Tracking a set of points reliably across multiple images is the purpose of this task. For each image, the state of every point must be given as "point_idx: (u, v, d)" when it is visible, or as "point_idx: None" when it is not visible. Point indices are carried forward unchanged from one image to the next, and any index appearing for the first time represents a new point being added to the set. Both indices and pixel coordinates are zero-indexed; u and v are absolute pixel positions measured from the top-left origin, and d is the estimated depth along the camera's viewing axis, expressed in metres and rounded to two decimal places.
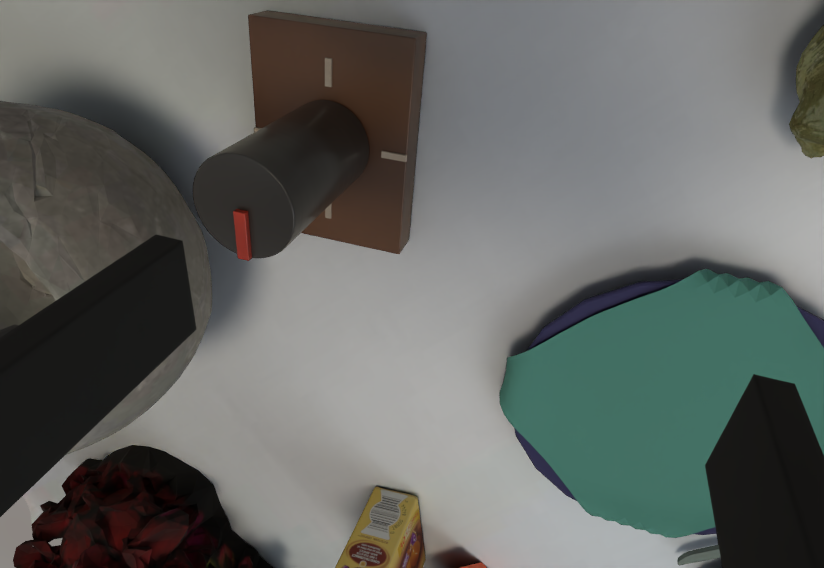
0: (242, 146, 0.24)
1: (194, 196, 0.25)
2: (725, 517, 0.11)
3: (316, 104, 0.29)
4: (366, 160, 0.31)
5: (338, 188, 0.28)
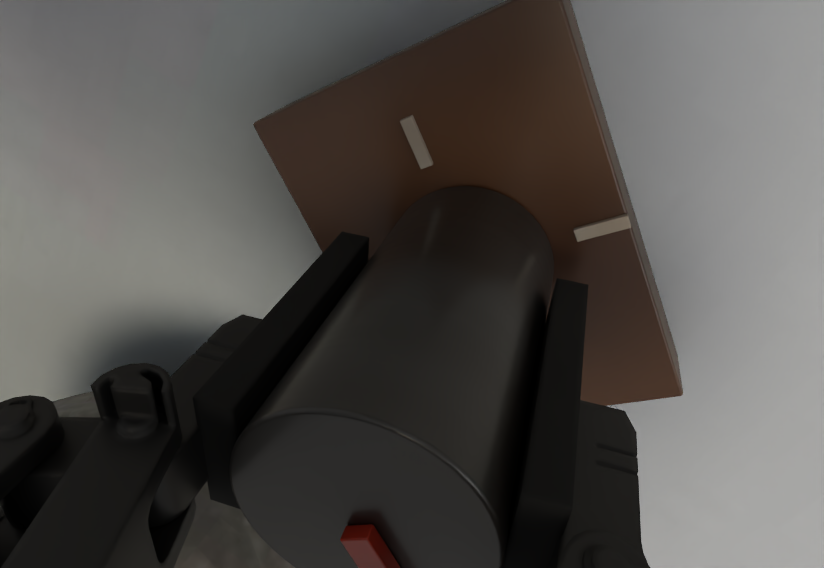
0: (297, 378, 0.09)
1: (251, 523, 0.10)
2: None
3: (420, 206, 0.15)
4: (552, 260, 0.16)
5: (537, 347, 0.13)
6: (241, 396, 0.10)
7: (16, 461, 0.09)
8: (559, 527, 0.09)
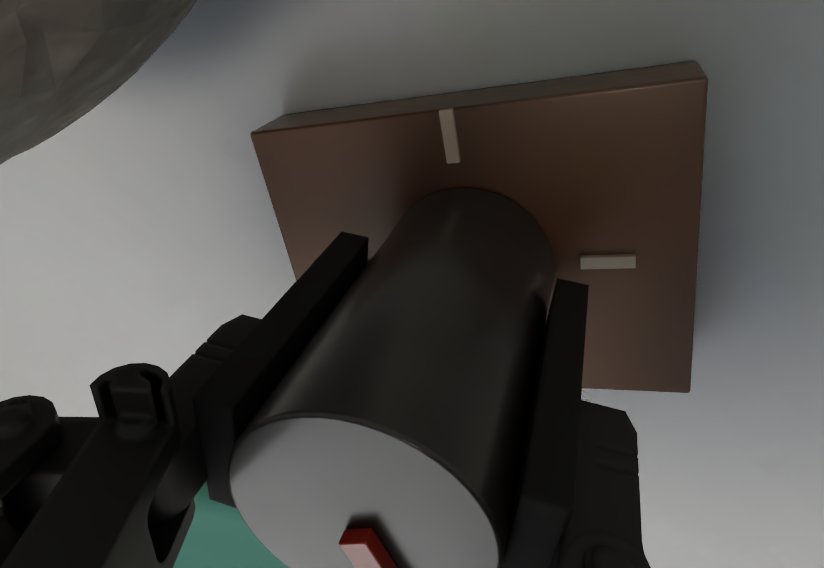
0: (295, 381, 0.09)
1: (250, 528, 0.10)
2: None
3: (419, 209, 0.15)
4: (551, 261, 0.15)
5: (537, 348, 0.12)
6: (241, 396, 0.10)
7: (15, 462, 0.09)
8: (560, 527, 0.09)
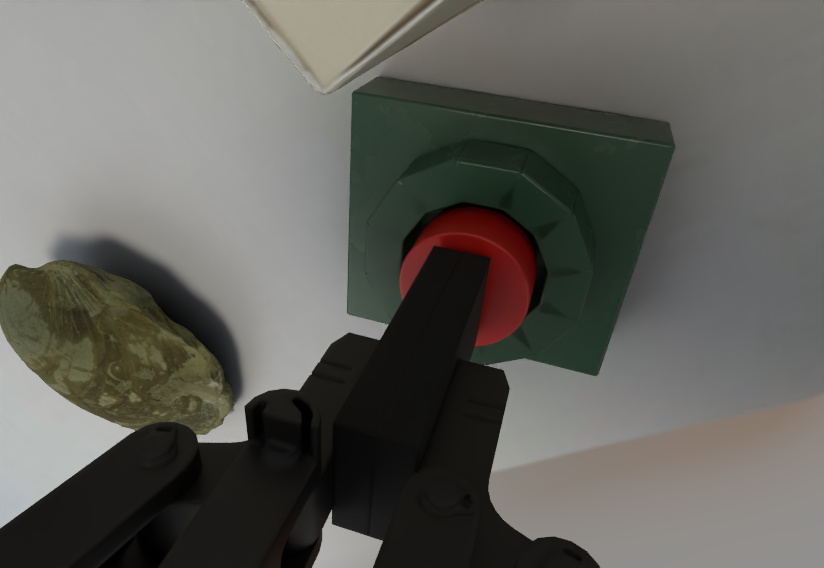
0: None
1: None
2: None
3: None
4: None
5: None
6: (381, 422, 0.09)
7: (155, 497, 0.08)
8: (411, 466, 0.09)
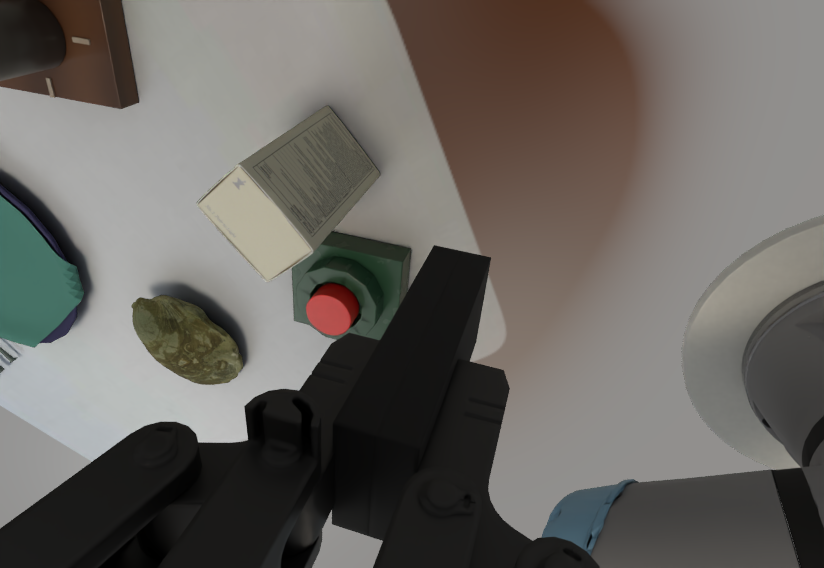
0: None
1: None
2: None
3: None
4: (59, 35, 0.40)
5: (14, 46, 0.37)
6: (381, 422, 0.09)
7: (154, 497, 0.08)
8: (411, 467, 0.09)
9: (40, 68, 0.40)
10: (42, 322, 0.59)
